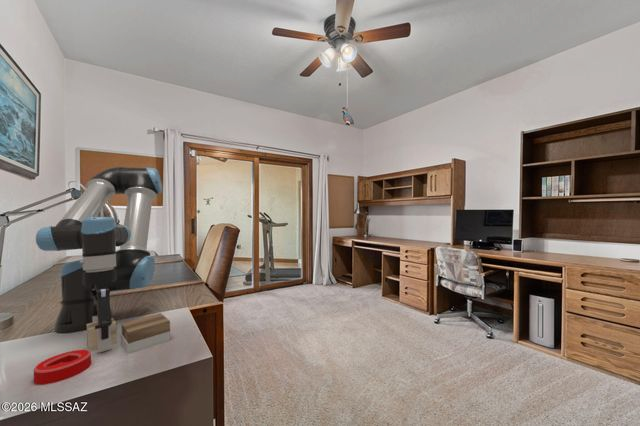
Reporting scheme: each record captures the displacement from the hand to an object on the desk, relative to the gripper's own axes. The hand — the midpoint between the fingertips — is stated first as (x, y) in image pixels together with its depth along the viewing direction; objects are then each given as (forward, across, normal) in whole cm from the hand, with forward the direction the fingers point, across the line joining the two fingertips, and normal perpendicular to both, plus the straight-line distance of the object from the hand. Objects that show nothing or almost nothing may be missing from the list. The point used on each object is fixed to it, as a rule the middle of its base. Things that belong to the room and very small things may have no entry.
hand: (101, 343), depth 75 cm
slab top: (-2, +9, +9) cm, 13 cm away
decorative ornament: (+1, +12, -8) cm, 14 cm away
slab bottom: (+1, +9, +9) cm, 13 cm away
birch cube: (0, 0, 0) cm, 0 cm away
